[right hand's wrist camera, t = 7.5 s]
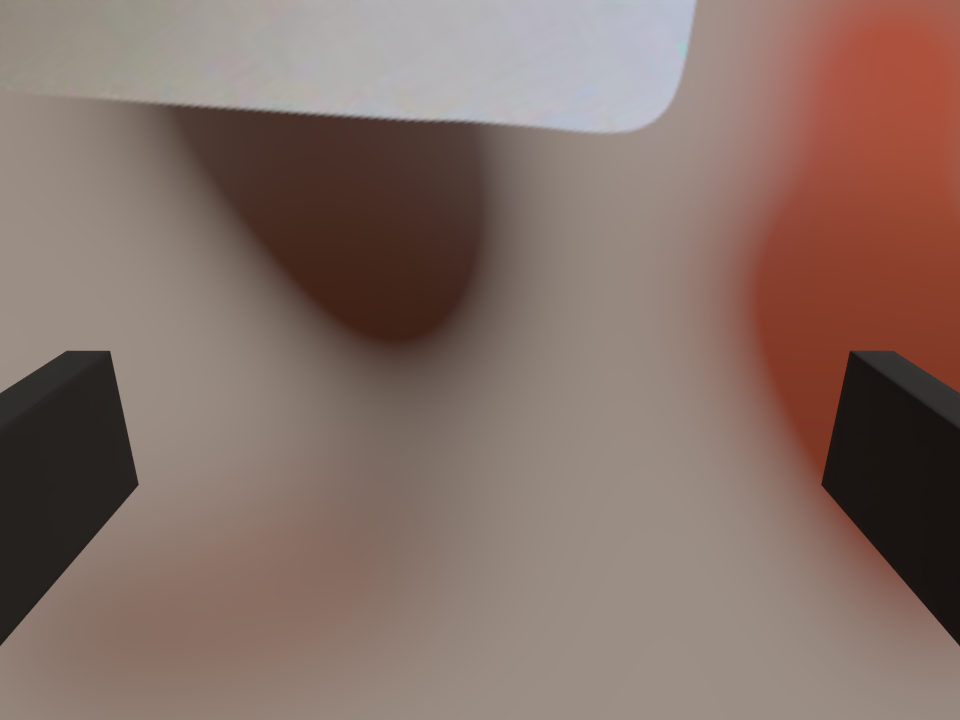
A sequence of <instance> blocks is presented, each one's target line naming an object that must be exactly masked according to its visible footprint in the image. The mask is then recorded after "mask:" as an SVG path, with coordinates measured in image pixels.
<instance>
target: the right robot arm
mask: <svg viewBox="0 0 960 720" xmlns="http://www.w3.org/2000/svg"><path fill="white" fill-rule="evenodd" d="M138 485H139V484H138V480H137V475H136V470H135V466H134V461H133V456H132V452H131V447H130V442H129V437H128V433H127V428H126V424H125V419H124V414H123V409H122V405H121V400H120V396H119V391H118V386H117V381H116V377H115V372H114V367H113V363H112V358H111V354H110V351H66V352H64V353H63V354H61V355H60V356H58V357H56V358H55V359H53V360H52V361H50V362H49V363H47V364H45V365H44V366H42V367H41V368H39V369H38V370H36V371H34V372H33V373H31V374H30V375H28V376H27V377H25V378H23V379H22V380H20V381H19V382H17V383H16V384H14V385H12V386H11V387H9V388H8V389H6V390H5V391H3V392H2V393H0V646H1V644H2V643H3V642H4V641H5V640H6V639H7V637H8V636H9V635H10V634H11V633H12V632H13V630H14V629H15V628H16V627H17V626H18V625H19V624H20V622H21V621H22V620H23V619H24V618H25V616H26V615H27V614H28V613H29V612H30V611H31V609H32V608H33V607H34V606H35V605H36V604H37V603H38V601H39V600H40V599H41V598H42V597H43V596H44V594H45V593H46V592H47V591H48V590H49V589H50V587H51V586H52V585H53V584H54V583H55V582H56V580H57V579H58V578H59V577H60V576H61V575H62V573H63V572H64V571H65V570H66V569H67V568H68V566H69V565H70V564H71V563H72V562H73V561H74V559H75V558H76V557H77V556H78V555H79V554H80V553H81V551H82V550H83V549H84V548H85V547H86V545H87V544H88V543H89V542H90V541H91V540H92V539H93V537H94V536H95V535H96V534H97V533H98V532H99V530H100V529H101V528H102V527H103V526H104V524H105V523H106V522H107V521H108V520H109V519H110V518H111V516H112V515H113V514H114V513H115V512H116V511H117V509H118V508H119V507H120V506H121V505H122V504H123V502H124V501H125V500H126V499H127V498H128V497H129V495H130V494H131V493H132V492H133V491H134V490H135V488H136V487H137V486H138ZM821 485H822V486H823V487H824V488H825V490H826V491H827V492H828V493H829V494H830V495H831V497H832V498H833V499H834V500H835V501H836V502H837V504H838V505H839V506H840V507H841V508H842V509H843V511H844V512H845V513H846V514H847V515H848V516H849V518H850V519H851V520H852V521H853V522H854V523H855V525H856V526H857V527H858V528H859V529H860V530H861V532H862V533H863V534H864V535H865V536H866V537H867V539H868V540H869V541H870V542H871V543H872V544H873V546H874V547H875V548H876V549H877V550H878V551H879V552H880V554H881V555H882V556H883V557H884V558H885V559H886V561H887V562H888V563H889V564H890V565H891V566H892V568H893V569H894V570H895V571H896V572H897V573H898V575H899V576H900V577H901V578H902V579H903V580H904V582H905V583H906V584H907V585H908V586H909V587H910V589H911V590H912V591H913V592H914V593H915V594H916V596H917V597H918V598H919V599H920V600H921V601H922V603H923V604H924V605H925V606H926V607H927V608H928V610H929V611H930V612H931V613H932V614H933V615H934V616H935V618H936V619H937V620H938V621H939V622H940V623H941V625H942V626H943V627H944V628H945V629H946V630H947V632H948V633H949V634H950V635H951V636H952V637H953V639H954V640H955V641H956V642H957V643H958V644H959V646H960V393H958V392H957V391H955V390H954V389H952V388H951V387H949V386H948V385H946V384H944V383H943V382H941V381H940V380H938V379H937V378H935V377H933V376H932V375H930V374H929V373H927V372H925V371H924V370H922V369H921V368H919V367H918V366H916V365H915V364H913V363H911V362H910V361H908V360H907V359H905V358H904V357H902V356H900V355H899V354H897V353H896V352H894V351H850V353H849V358H848V363H847V367H846V372H845V377H844V381H843V386H842V391H841V396H840V400H839V405H838V409H837V414H836V419H835V423H834V428H833V433H832V437H831V442H830V447H829V451H828V456H827V461H826V466H825V470H824V475H823V480H822V484H821Z"/></svg>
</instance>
